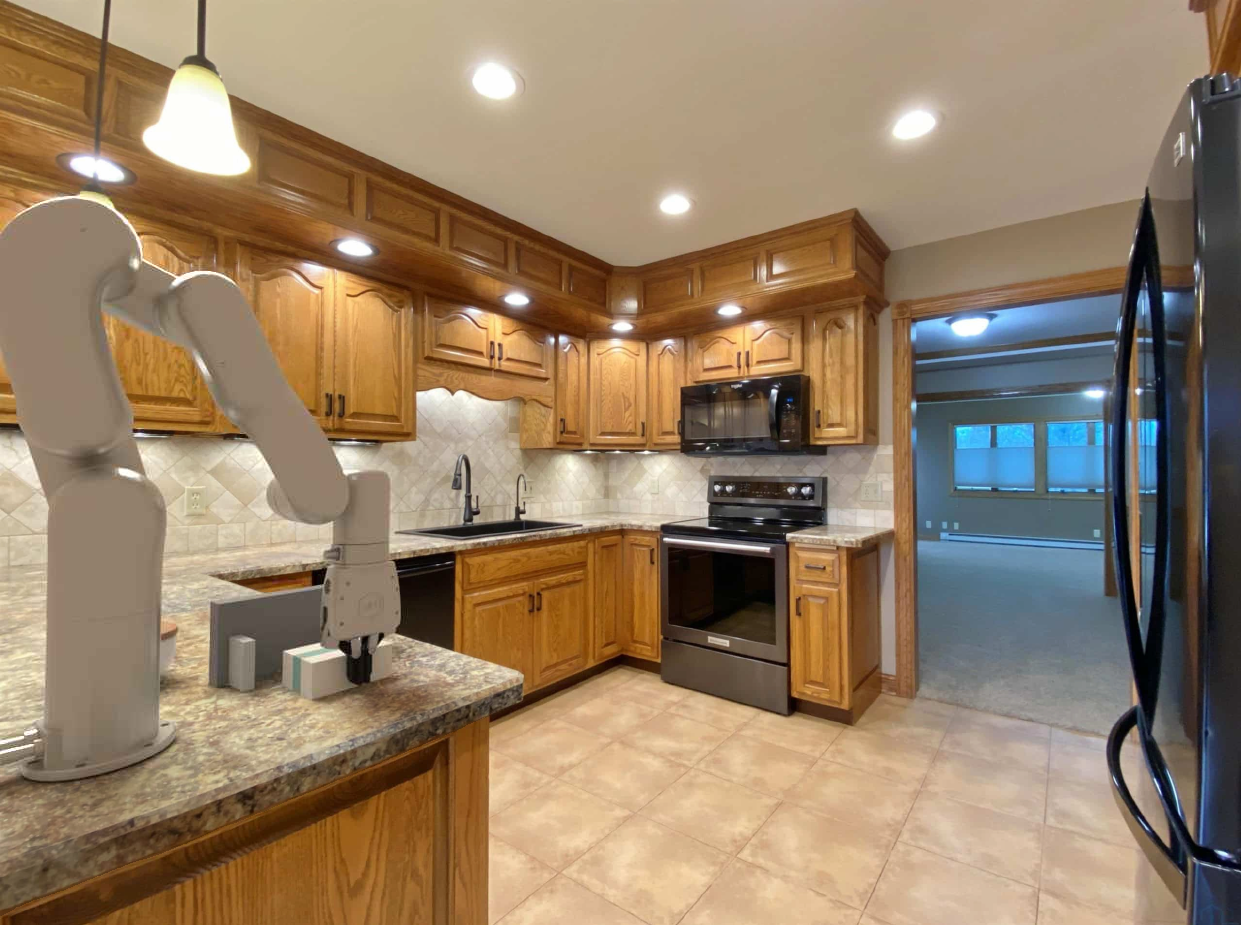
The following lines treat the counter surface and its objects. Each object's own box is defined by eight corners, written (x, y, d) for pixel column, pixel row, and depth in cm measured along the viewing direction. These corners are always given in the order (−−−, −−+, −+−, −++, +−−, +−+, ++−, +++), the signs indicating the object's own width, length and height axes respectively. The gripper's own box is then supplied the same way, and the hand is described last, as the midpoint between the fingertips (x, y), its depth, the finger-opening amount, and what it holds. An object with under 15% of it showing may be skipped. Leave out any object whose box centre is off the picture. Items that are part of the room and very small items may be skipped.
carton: (311, 700, 79) (312, 663, 79) (282, 685, 84) (282, 650, 84) (391, 675, 88) (392, 643, 88) (361, 664, 94) (361, 633, 94)
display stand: (230, 695, 80) (232, 609, 80) (208, 682, 84) (210, 601, 85) (388, 652, 99) (389, 583, 99) (363, 644, 104) (364, 578, 104)
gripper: (321, 563, 75) (318, 705, 74) (421, 551, 86) (420, 673, 86) (295, 557, 79) (292, 691, 79) (394, 547, 91) (392, 663, 91)
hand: (359, 681), depth 82 cm, fingers closed
